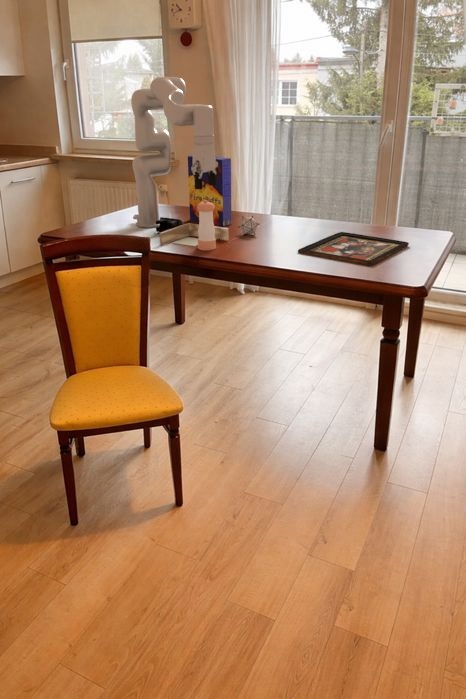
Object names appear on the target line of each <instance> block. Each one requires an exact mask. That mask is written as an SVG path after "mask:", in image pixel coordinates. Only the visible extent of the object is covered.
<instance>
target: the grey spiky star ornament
mask: <svg viewBox="0 0 466 699" xmlns="http://www.w3.org/2000/svg"><path fill="white" fill-rule="evenodd" d="M241 218H242V219H241V222H240V225H239V226H238V227H237V228H238V229H239V228H240V230H241V231H242V233H244V234H243V236H246V235H251V234H254V236H255V235H257V234H256V230H257V228H258V225H260V223H258V222H257V221H256V220H255V218H254V215H251V216H250V217H249V216H248V217H244V216H241Z"/></svg>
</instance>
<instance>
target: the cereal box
mask: <svg viewBox="0 0 466 699" xmlns="http://www.w3.org/2000/svg"><path fill="white" fill-rule="evenodd" d="M215 157H216V161H217V162H218V166H217V171H216V173H217V174H216V186H211V185H209V182H208V175H210V174H209V172H205V173H203V174H202V177H201V178H202V184H203V189H195V178H194V176H193V174H192V170H191V167H192V166H193V154H192V155H191V154H190V155H188V156H187V169H188V170H187V171H188V172H187V174H188V176H187V177H188V178H187V179H188V201H189V221H193V222H198V221H199V211H198V209H197V205H198V204H199V203H201V202H204V200H207V201H208V202H211V203H213V204H214V206H215V208H214V210H213V224H214V226H217V227H226V226H230V225H232V221H233V220H232V217H233V216H232V159H231V157H229V158H228V157H221V156H219V157H218V156H215ZM198 174H200V173H198Z"/></svg>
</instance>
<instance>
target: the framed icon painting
mask: <svg viewBox="0 0 466 699" xmlns="http://www.w3.org/2000/svg"><path fill="white" fill-rule="evenodd" d="M409 244H410V243H409V242H408V241H402V240H397V239H390V238H383V237H378V236H377V237H376V236H370V235H364V234H358V233H353V232H352V233H351V232H345V231H339V232H336V233H333V234H332V235H328V236H327V237H324V238H321V239H320V240H318V241H315V242H313V243H310V244H308V245H305V246H303V247H301V248H298V250H297V254H301V255H305V256H312V257H317V258H323V259H329V260H333V261H338V262H344V263H350V264H354V265H361V266H366V267H372V266H374V265H376V264H378V263H380V262H381V261H383V260H385V259H387V258H389V257H391V256H393V255H394V254H396V253H398V252H400V251H402V250H404V249H406V248H407V247H408V246H409ZM405 247H406V248H405ZM403 248H404V249H403ZM399 250H400V251H399Z"/></svg>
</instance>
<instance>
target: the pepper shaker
mask: <svg viewBox="0 0 466 699" xmlns="http://www.w3.org/2000/svg"><path fill="white" fill-rule="evenodd" d="M214 208H215V206H214V204H213V203H211V202H208V201H207V200H204V202H201V203H199V204H198V205H197V209H198V211H199V222H198V223H199V229H198V236H199V237H198V246H197V249H198V250H199V251H200V250H201V251H213V250H215V249H216V248H217V245H216V244H217V242H216V241H217V239H215V229H214V226H215V225H214V224H213V210H214Z"/></svg>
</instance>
